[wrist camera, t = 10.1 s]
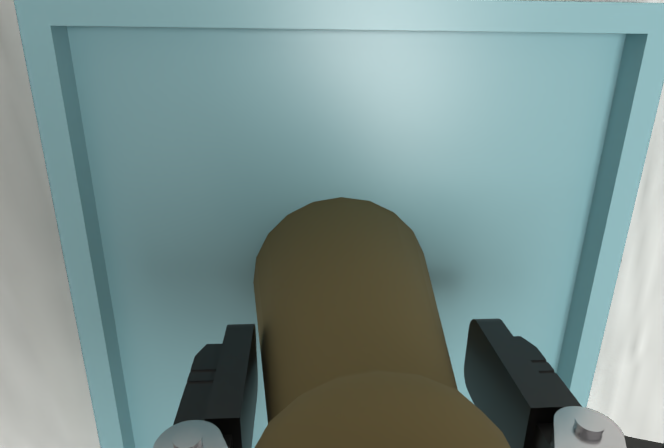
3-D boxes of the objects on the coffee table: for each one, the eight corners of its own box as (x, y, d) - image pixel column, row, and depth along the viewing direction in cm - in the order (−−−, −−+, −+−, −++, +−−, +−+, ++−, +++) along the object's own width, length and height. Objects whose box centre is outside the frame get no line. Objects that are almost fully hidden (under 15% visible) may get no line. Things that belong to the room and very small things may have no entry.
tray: (127, 469, 21) (112, 507, 19) (45, -4, 14) (12, -9, 13) (546, 452, 22) (567, 487, 20) (640, 6, 16) (682, 3, 14)
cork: (453, 225, 17) (689, 515, 7) (391, 368, 19) (501, 765, 9) (280, 174, 16) (251, 425, 6) (234, 331, 18) (148, 729, 8)
